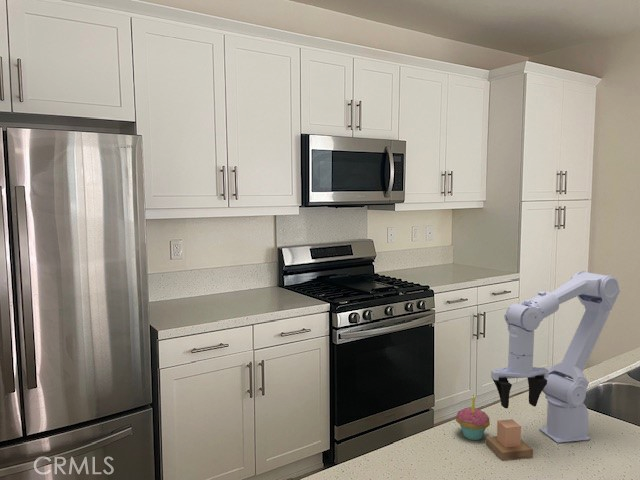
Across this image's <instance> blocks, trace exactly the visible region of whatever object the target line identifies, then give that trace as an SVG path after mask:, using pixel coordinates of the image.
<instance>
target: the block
mask: <svg viewBox="0 0 640 480" xmlns="http://www.w3.org/2000/svg"><path fill="white" fill-rule="evenodd" d="M496 424H497V425H496V427H497V428H496V436H497V440H498V441H499V442H500V443H501V444H502V445H503V446H504V447H505V448H506V447H516V446H521V440H522V426H521V425H520V424H519V423H517V422H516V421H515V420H514V419H501V420H500V419H499V420H497V423H496Z"/></svg>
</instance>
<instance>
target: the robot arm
mask: <svg viewBox="0 0 640 480" xmlns="http://www.w3.org/2000/svg"><path fill="white" fill-rule="evenodd" d="M620 292H621V291H620V286H619V283H618V280H617V278H616V277H615V276H613V275H607V274H606V275H605V274H600V273H593V272H587V271H584V270H579V271H578V272H576V273H575V274H574V273H573V274H572V275H571V278H570V280H568V281H566V282H565V283H564V284H562V285H561V286H559V287H558V288H556V289H554V290H553V291H551V292H550V291H547V290H545V291H543V290H540V291H538V292H537V294H536V295H534V296H533V297H530V299H525V300H524V301H523V302H522V303H513V304H511V305H510V306H509V307H508V308H507V310H506V313H505V314H504V321H505V323H506V325H507V331H508V332H509V333H508V334H509V335H508V360H507V367H504V368H498V369H492V370H491V371H490V378H491V379H492V381H493V383H494V385H495V387H496V389H497V392H498V397H499V400H500V405H501V407H503V408H504V409H509V404H510V393H511V389H512V386H513V385H512V383H511V382H509V380H508V379H524V378H526V379H527V383H528V404H529V405H530V406H532V407H536V406H537V405H538V401H539V398H540V396H541V394H542V392H543V394H544V395H545V399H546V401H547V402H546V403H547V404H546V405H547V406H546V407H547V408H546V409H547V410H546V426H542V427H539V430H540V431H541V432H542V433H544V434H545V435H546V436H547V437H549V438H550V439H552V440H553V441H554V442H555V443H559V444H560V443H569V442H577V441H578V442H579V441H587V440H590V439H591V437H590V436H588V435H589V411H588V407H587V406H586V405H585V403H584V401H585V400H586V397H587V396H586V395H587V388H588V387H589V381H588V378H587V377H586V376H585V374H584V370H585V368H586V365H588V362H589V359H590V357H591V355H592V354H593V353H592V352H594V351H593V350H594V348H595V346H596V344H597V342H598V339H599V337H600V335H601V334H602V331H603V328H604V327H605V324H606V322H607V320H608V318H609V316H610V313H611V311H612V310H613V307H614V305H615V302H616V300H617V299H618V297H619V295H620ZM576 297H577V299H578V300H579V302H580V304H581V305H583V306H584V309H585V311H584V313H583V314H582V316H581V317H582V318H581V320H580V321H579V324H578V326H577V328H576V329H575V333H574V335H573V337H572V339H571V341H570V343H569V345H568V348H567V350H566V352H565V353H564V356H563V359H562V360H561V362H559V363H556V364H554V365H553V364H552V365H551V366H550V368H549V369H548V368H546V367H535V366H533V365H534V347H535V345H534V343H535V330H537V329H538V327H539V326H540V324H541V322H543V320H544V319H545V318H548V317H549V316H551V315H553V314H555V313H556V312H557V311H559V308H560V305H561V304H564V303H566V302H568V301H570V300H572V299H574V298H576Z"/></svg>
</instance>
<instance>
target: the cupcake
mask: <svg viewBox="0 0 640 480" xmlns="http://www.w3.org/2000/svg"><path fill="white" fill-rule="evenodd" d="M475 401H476V398H475V394H473V395H472V397H471V406H469V407H464V408H463V409H461V410H459V411H457V413H456V414H455V421H456V422H457V423H458V424H459V425H460V428H461V430H462V434H463V437H465V438H466V439H468V440H473V441H474V440H475V441H477V440H478V441H479V440H481V439H482V438H483V436H484V433H485V431H486V429H487V428H488V427H489V426H490V422H491V421H490V417H489V415H488V414H487V413H486V412H485V411H483V410H481V409H479V408H476V407H475V404H476V402H475Z"/></svg>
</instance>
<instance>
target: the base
mask: <svg viewBox="0 0 640 480" xmlns="http://www.w3.org/2000/svg"><path fill="white" fill-rule="evenodd" d="M485 446H487V447H488V448H489V449H490V450H491V452H493V453H494V454H495V455H496V456H497V457H498V458H499V459H500V460H501V461H512V460H521V459H522V460H523V459H530V458H534V449H533V448H532V447H531V446H530V445H529V444H527V443H526V442H525V441H524V440H522V439H521V446H516V447H506V448H505V447H504V446H503V445H502V444H501V443H500V442H499V441H498V440H497V435H495V436H493V435H492V436H485Z"/></svg>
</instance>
